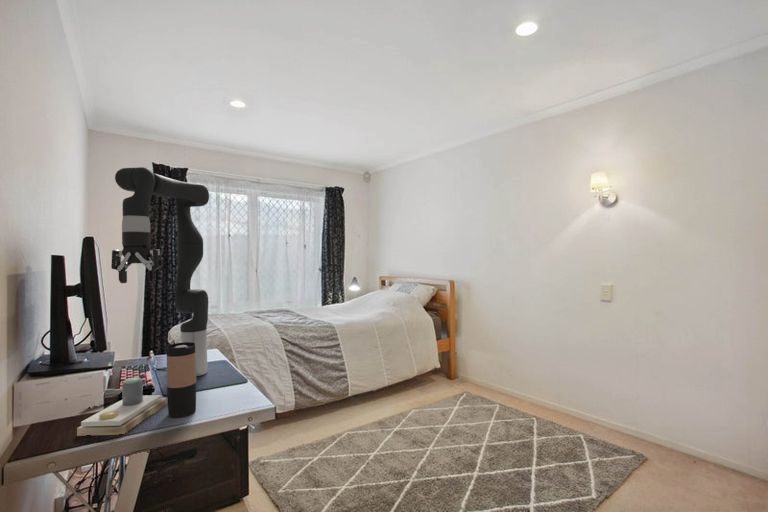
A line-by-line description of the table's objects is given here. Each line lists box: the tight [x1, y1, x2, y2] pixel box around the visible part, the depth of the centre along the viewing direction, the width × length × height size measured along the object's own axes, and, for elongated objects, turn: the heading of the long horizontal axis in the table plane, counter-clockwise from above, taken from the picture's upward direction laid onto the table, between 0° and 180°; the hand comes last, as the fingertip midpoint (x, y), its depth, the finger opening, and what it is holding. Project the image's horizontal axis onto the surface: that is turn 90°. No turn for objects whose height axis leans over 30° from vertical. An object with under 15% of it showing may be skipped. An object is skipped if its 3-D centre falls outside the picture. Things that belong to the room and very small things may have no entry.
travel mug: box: [166, 342, 197, 419], centre depth 111 cm, size 8×8×20 cm
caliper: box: [103, 388, 122, 399], centre depth 125 cm, size 20×1×6 cm, turn 154°
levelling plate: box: [80, 377, 163, 427], centre depth 107 cm, size 19×10×8 cm, turn 1°
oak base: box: [76, 397, 168, 437], centre depth 108 cm, size 20×12×2 cm, turn 1°
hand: (137, 282), depth 119 cm, fingers open, 8 cm apart
